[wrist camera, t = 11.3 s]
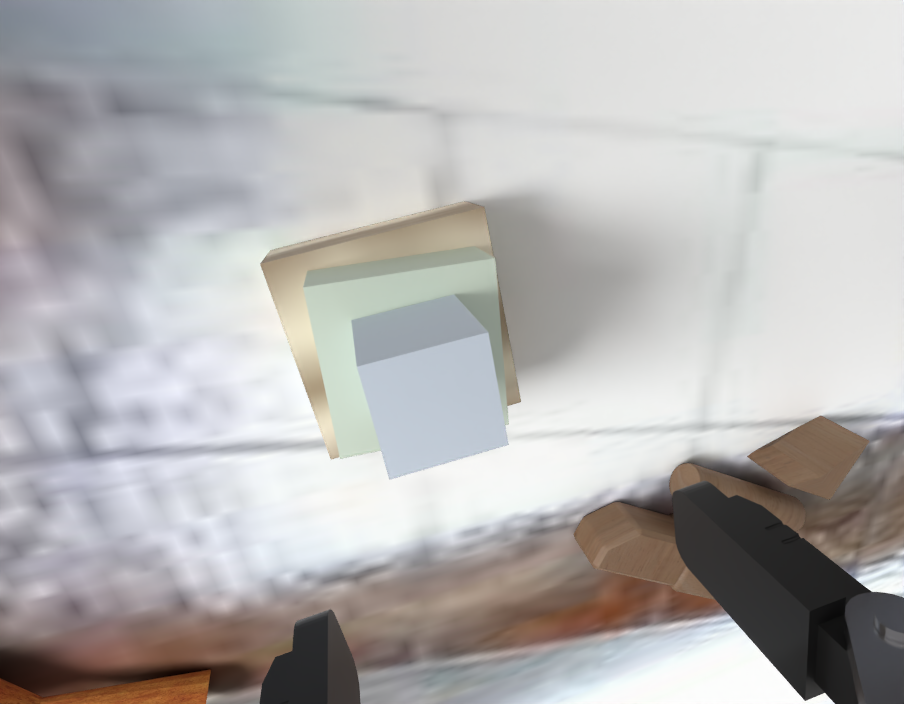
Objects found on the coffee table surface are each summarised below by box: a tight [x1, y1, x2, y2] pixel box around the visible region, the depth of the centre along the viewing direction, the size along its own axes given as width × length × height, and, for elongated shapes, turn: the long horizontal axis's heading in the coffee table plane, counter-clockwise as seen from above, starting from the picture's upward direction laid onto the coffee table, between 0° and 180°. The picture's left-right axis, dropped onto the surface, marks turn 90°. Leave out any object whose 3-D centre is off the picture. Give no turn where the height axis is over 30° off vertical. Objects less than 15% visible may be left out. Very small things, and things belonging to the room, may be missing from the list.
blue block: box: [351, 294, 509, 479], centre depth 23 cm, size 5×5×6 cm
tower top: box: [303, 246, 509, 459], centre depth 28 cm, size 9×9×4 cm
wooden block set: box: [574, 416, 869, 600], centre depth 42 cm, size 17×6×18 cm
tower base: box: [260, 201, 521, 459], centre depth 32 cm, size 12×12×5 cm
